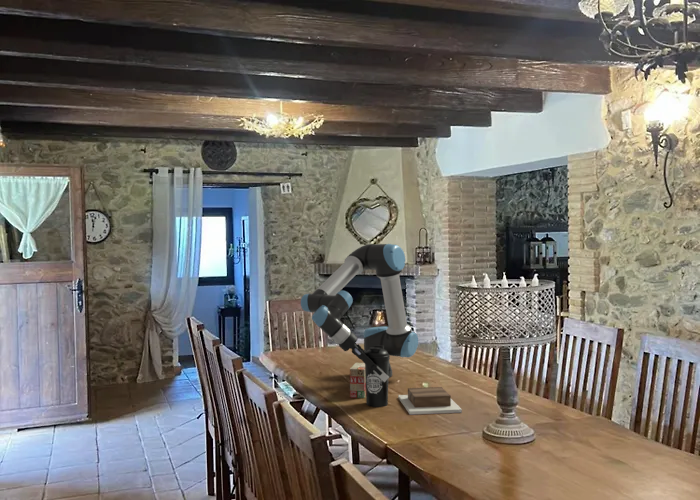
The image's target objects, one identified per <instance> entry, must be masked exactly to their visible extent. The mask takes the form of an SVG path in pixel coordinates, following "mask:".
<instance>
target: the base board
mask: <svg viewBox="0 0 700 500" xmlns="http://www.w3.org/2000/svg"><path fill="white" fill-rule="evenodd" d="M398 400H399V402H401V404H402V405H403V407H404V409H405V411H407V412H408V414H409V416H410V415H432V414H433V415H434V414H456V413H459V414H462V413H463V409H462V408H461V407H460V405H458V404H457V402H455V401H454V400H453V399H452V398H451V406H441V407H414V406H413V404H412V403H411V402H410V400H409V399H408V394H398Z"/></svg>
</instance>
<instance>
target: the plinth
mask: <svg viewBox="0 0 700 500" xmlns="http://www.w3.org/2000/svg"><path fill="white" fill-rule="evenodd" d="M407 395H408V399H409V400H410V402H411V403H412V404H413V406H414V407H441V406H451V399H452V398H451V394H449V392H447V391H446V390H445V388H444V387H442V386H432V387H431V386H430V387H409V388H407Z"/></svg>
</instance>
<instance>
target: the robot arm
mask: <svg viewBox="0 0 700 500" xmlns="http://www.w3.org/2000/svg"><path fill="white" fill-rule="evenodd" d="M405 265H406V256H405V253H404V250H403V248H402V247H401V246H399V245H397V244H394V243H393V244H391V243H379V244H378V243H377V244H376V243H368V244H364V245H361V246H359V247H358V248H356V249H355V250H353V251H352V252H351V253H349V255H347V256H346V257H345V259H344V262H343V263H342V264H341V265H340V266H339V267H338V268H337V269H336V270H335V271H334V272H333V273H332V274H331V275H330V276H329V277H328V278H327V279H326V280H325V281H324V282H323V283H321V285H319V287H318V288H316V289H315V291H313V292H312V293H306V294H303V295H302V297H301V298H300V307H301V309H302V311H304V312H307V313H311V314H312V313H313V314H312V315H311V320H312V321H313V322H314V323H315V324H316V326H317V327H318V328H320V330H322V331H323V332H324V333H325V334H326V335H327V336H328V337H329V338H330V339H331V342H334V343H335V344H337V345H338V347H340V349H341V350H343V352H348V351H349V350H351V353H352V354H353V356H354V355H355V356H356V357H357V359H359V360H361V361H362V363H365V364H366V365H367V366H368V367H369V368H370V369H371V372H374V373H375V374H376V375H377V376H378V377H379V378H380V379H381V380H383V381H384V382H385V381H386V380H387V379H388V380H389V379H390V378H391V377H393V368H392V366H391V363H390V361H389V370H388V376H387V375H386V374H385V373H384V372H383V371H382V370H381V369H380V368H379V367H378V366H377V365H376V364H374V363H373V362H372V361H371V360H370V359H369V358H368V356H367V355H366V351H368V350H369V348H371V347H374V345H381V346H384V350H386V351H387V352H388V354H389V355H390V356H391V357H399V358H411V357H413V356H414V355H415V353H416V352H417V349H418V346H419V336H418V335H417V333H415V332H414V331H413V330H412V327H411V325H410V324H408V322H407V321H408V320H407V315H406V314H407V313H406V309H405V303H404V296H403V291H402V290H403V289H402V286H401V280H400V279H401V278H400V275H401V274H402V272H403V269H404V268H405ZM367 270H368V271H375V275H376V277H377V278H379V279H380V283H381V289H382V294H383V295H382V296H383V301H384V308H385V313H386V319H387V324H388V326H374V327H373V326H372V327H368V328H366V329H364V332H363V348H362V346H361V345H360V344H357V341H358V339H359V337H358V336H357V335H356V334H355V333H354V332H352V331H351V329H350V328H349V327H348V326H347V325H345V323H344V322H343V321H342V320H341V319H342V318H343V316H344V315H345V314H346V313H347V311H348V310H350V307H351V306H352V304H353V302H354V301H353V300H354V298H353V297H352V295H351V294H350V293H349V292H348V291H346V290H343V288H345V287H346V286H347V284H348V283H349V282H350V281H352V279H354V277H355V276H356V275H360V274H361V273H363V272H364V271H367Z"/></svg>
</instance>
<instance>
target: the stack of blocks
mask: <svg viewBox="0 0 700 500" xmlns="http://www.w3.org/2000/svg"><path fill="white" fill-rule="evenodd" d="M349 398H352V399H355V398H358V399H366V377H365V363H363V362H355V363H354V364H353V365H352V366H351V367H350V368H349Z"/></svg>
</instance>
